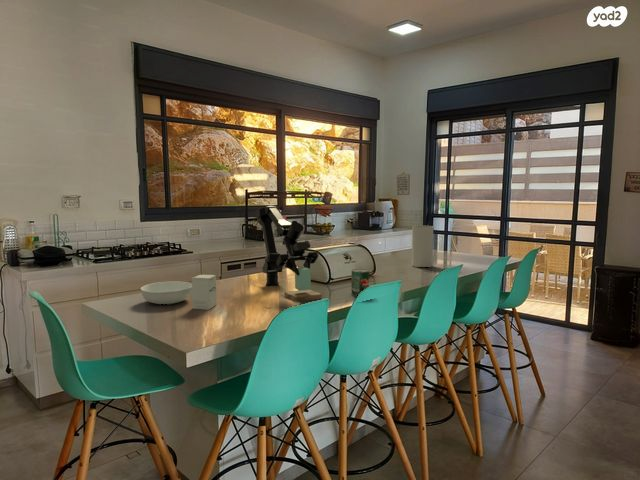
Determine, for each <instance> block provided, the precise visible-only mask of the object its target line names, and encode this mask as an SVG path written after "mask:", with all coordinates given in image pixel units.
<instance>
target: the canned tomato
mask: <svg viewBox="0 0 640 480" xmlns="http://www.w3.org/2000/svg"><path fill="white" fill-rule="evenodd" d="M367 287H369V288H370V270H369V269H365V268H355V269H351V295H352V296H353V297H355V296H356V297H358V296H357V295H358V294H359V293H360V292H361V291H363V290H364V289H366V288H367Z"/></svg>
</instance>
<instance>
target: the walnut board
mask: <svg viewBox="0 0 640 480" xmlns="http://www.w3.org/2000/svg"><path fill="white" fill-rule="evenodd" d="M284 297H285V298H286V299H289V300H291V301H294V302H296V303H300V302H301V303H302V302H308V300H309V301H314V300H315V301H316V300H322V299H323V294H322V293H320V292H317V291H314V290H312V289H309V290H301V291H300V290H298V289H296V290H292V291H291V290H290V291H285V292H284Z"/></svg>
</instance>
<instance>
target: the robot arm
mask: <svg viewBox="0 0 640 480" xmlns="http://www.w3.org/2000/svg"><path fill="white" fill-rule="evenodd" d="M255 218H256V219H257V223H258V224H259V225H260V226H261V228H262V233H263V234H262V235H263V240H264V244H265V250H266V255H265V258H264V263H263V266H262V268H261V269H262V273H264V274H266V282H265V286H268V287H269V286H280V282H279V273H282V272H283V268H284V267H285V268H287V269H288V270H290V271H292V272H293V273H294V275H295V274H297V275H299V271H298V269H297V268H298V267H297V264H296V262H301V261H302V262H303V264H302V266H303V267H306V268H309V269H311V264H313V265H314V264H315V263H316V261H317V260H318V258H319V256H320V255H319V253H318V251H309V252H307V255H305V253H306V250H308V249H309V248H311V243H310V241H309V240H304V241H298V240H299V239H300V237H301V235H302V233H303V231H304V225H302V224H301V222H298V221H297V220H292V221H291V222H290V221H287V220H286V219H285V218H284V217H283V215H282V214H281V213H280V212H279V210H278V208H277V206H275V205H266V206H265V207H263V208H258V209H257V210H256V211H255ZM272 224H274V225H275V227H276V230H275V231H276V233H277V235H278V236H279V237H281V238H282V237H283V238H282V246H283V245H284V246H285V248H286V253H278V251H277V247H276V242H275V237H274V232H273V225H272Z"/></svg>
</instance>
